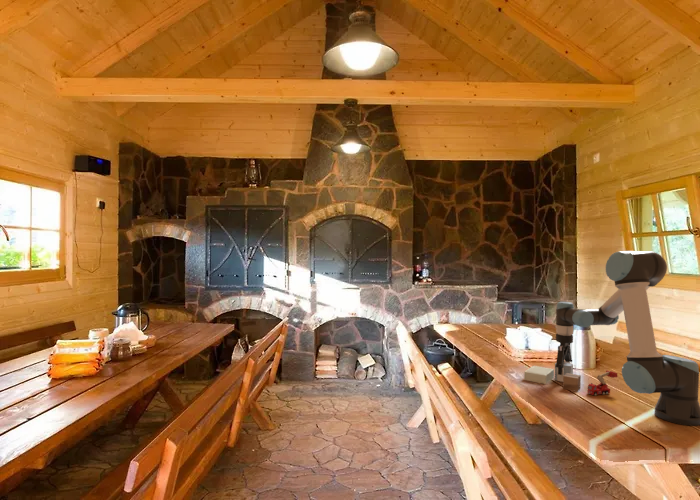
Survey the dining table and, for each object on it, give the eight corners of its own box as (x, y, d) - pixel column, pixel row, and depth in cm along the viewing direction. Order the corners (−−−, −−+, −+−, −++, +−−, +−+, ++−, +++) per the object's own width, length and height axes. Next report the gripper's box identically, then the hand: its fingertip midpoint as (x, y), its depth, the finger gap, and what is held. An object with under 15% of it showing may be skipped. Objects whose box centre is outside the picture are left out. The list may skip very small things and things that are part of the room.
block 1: (570, 383, 214) (570, 366, 213) (554, 380, 218) (554, 363, 218) (572, 380, 217) (573, 364, 217) (557, 377, 222) (557, 361, 222)
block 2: (577, 391, 201) (577, 378, 201) (563, 388, 205) (563, 375, 205) (580, 388, 206) (580, 375, 206) (566, 385, 210) (566, 372, 209)
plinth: (545, 384, 211) (546, 375, 211) (524, 379, 218) (524, 371, 218) (553, 377, 222) (554, 368, 222) (533, 373, 229) (533, 365, 229)
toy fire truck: (586, 393, 198) (586, 372, 198) (611, 391, 202) (611, 369, 202) (592, 396, 195) (592, 374, 195) (617, 393, 199) (617, 371, 199)
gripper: (562, 329, 229) (561, 370, 230) (549, 336, 210) (548, 382, 211) (578, 331, 225) (577, 373, 225) (566, 339, 205) (565, 385, 206)
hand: (563, 377), depth 218 cm, fingers open, 12 cm apart
